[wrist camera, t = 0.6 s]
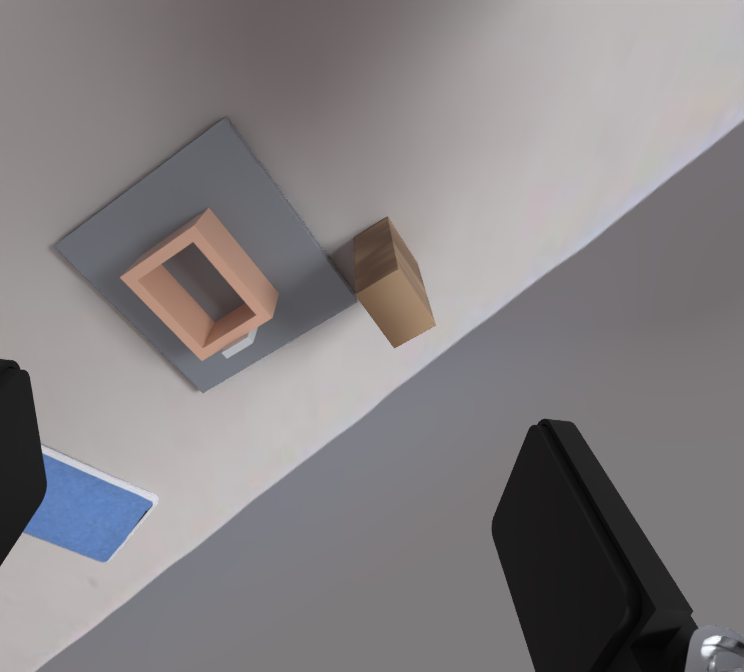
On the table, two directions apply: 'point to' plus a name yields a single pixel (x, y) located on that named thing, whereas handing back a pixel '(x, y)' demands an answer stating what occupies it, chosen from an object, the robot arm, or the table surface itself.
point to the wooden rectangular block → (390, 284)
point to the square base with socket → (209, 260)
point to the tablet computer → (87, 508)
